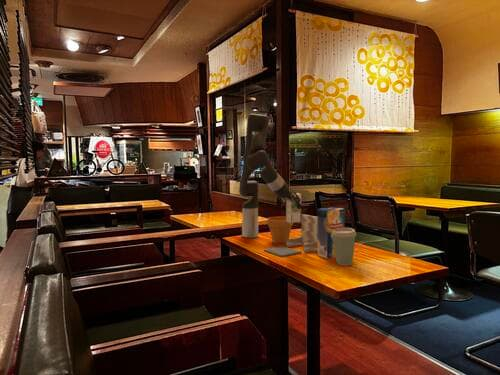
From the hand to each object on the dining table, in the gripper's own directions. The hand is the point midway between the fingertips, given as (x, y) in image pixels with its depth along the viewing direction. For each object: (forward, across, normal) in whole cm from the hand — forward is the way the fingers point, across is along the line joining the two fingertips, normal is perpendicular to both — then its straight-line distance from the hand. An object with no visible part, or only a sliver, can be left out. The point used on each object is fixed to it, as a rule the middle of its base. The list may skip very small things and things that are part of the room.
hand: (295, 207), depth 178 cm
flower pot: (+19, +19, +11) cm, 29 cm away
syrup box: (+4, 0, +6) cm, 8 cm away
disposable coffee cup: (+16, -31, +16) cm, 38 cm away
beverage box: (+20, -18, +11) cm, 29 cm away
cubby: (+19, 0, +11) cm, 22 cm away
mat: (+9, 0, +21) cm, 23 cm away
